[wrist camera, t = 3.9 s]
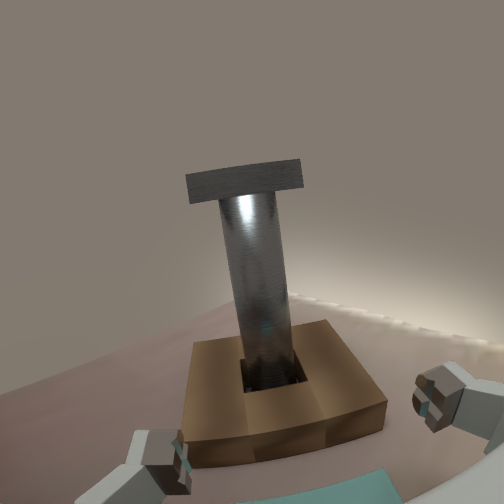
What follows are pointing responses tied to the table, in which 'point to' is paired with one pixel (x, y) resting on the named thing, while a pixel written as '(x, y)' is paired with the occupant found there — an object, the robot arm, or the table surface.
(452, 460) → the table surface
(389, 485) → the teal rubber mat
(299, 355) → the walnut key-slot block
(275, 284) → the gunmetal T-key
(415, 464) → the table surface
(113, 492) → the robot arm
